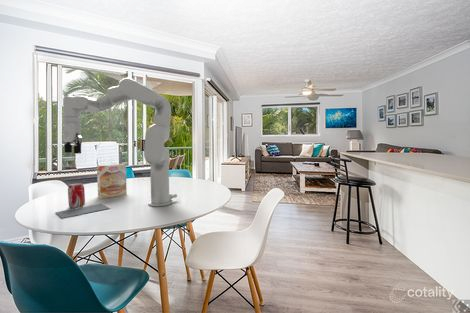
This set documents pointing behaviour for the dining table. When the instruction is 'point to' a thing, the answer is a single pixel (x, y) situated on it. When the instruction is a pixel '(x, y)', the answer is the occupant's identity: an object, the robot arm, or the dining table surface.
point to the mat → (81, 211)
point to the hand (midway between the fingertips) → (72, 152)
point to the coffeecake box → (111, 180)
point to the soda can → (76, 195)
